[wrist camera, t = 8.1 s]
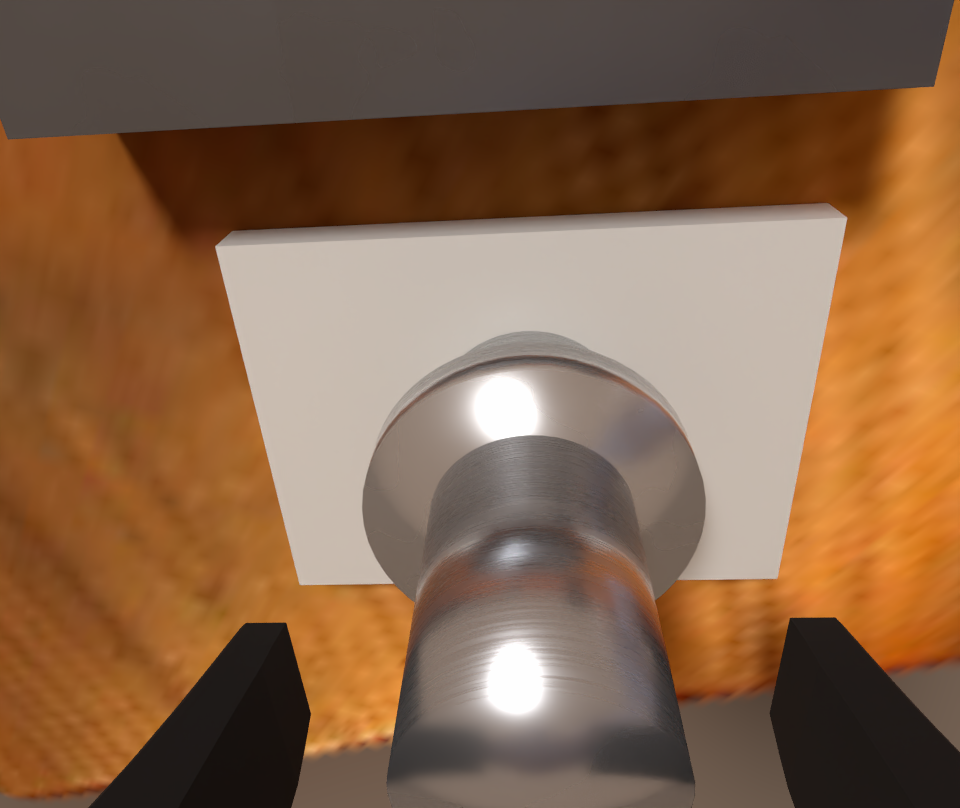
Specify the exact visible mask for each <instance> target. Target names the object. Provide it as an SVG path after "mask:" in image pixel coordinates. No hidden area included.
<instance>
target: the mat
mask: <svg viewBox="0 0 960 808" xmlns="http://www.w3.org/2000/svg"><path fill="white" fill-rule="evenodd" d="M846 222H847V217H846V216H844V215H843V214H842V213H840V212H839V211H838V210H836V209H835V208H834V207H833V206H831V205H830V204H829V203H814V204H793V205H772V206H751V207H729V208H708V209H687V210H666V211H644V212H623V213H602V214H581V215H559V216H538V217H517V218H496V219H475V220H453V221H432V222H411V223H390V224H368V225H347V226H326V227H305V228H283V229H262V230H241V231H232V232H231V233H229V234H228V235H227V236H226V237H225V238H224V239H223V240H222V241H221V242H220V243H219V244H217V245H216V246H215V248H216V252H217V256H218V260H219V264H220V268H221V272H222V276H223V280H224V284H225V288H226V292H227V296H228V300H229V304H230V308H231V312H232V316H233V320H234V324H235V328H236V332H237V336H238V340H239V344H240V348H241V352H242V356H243V360H244V364H245V368H246V372H247V376H248V380H249V384H250V388H251V392H252V396H253V400H254V404H255V408H256V412H257V416H258V420H259V424H260V428H261V432H262V436H263V440H264V444H265V448H266V452H267V456H268V460H269V464H270V468H271V472H272V476H273V480H274V484H275V488H276V492H277V496H278V500H279V504H280V508H281V512H282V516H283V520H284V524H285V528H286V532H287V536H288V540H289V544H290V548H291V552H292V556H293V560H294V564H295V568H296V572H297V576H298V580H299V584H300V585H339V584H394V583H393V582H392V581H391V579H390V578H389V577H388V576H387V575H386V573H385V572H384V570H383V569H382V567H381V566H380V564H379V563H378V561H377V559H376V558H375V556H374V553H373V551H372V549H371V547H370V544H369V542H368V539H367V535H366V532H365V528H364V523H363V513H362V498H363V488H364V484H365V479H366V475H367V471H368V468H369V464H370V461H371V458H372V454H373V451H374V448H375V444H376V441H377V438H378V436H379V433H380V431H381V428H382V426H383V424H384V422H385V420H386V419H387V417H388V415H389V414H390V412H391V410H392V409H393V407H394V406H395V405H396V404H397V402H398V401H399V400H400V399H401V398H402V396H403V395H404V394H405V393H406V392H407V391H408V390H409V389H410V388H411V387H412V386H414V385H415V384H416V383H417V382H418V381H419V380H420V379H422V378H423V377H424V376H426V375H427V374H429V373H430V372H432V371H433V370H435V369H436V368H438V367H440V366H442V365H444V364H445V363H447V362H449V361H451V360H453V359H455V358H457V357H460V356H463V355H465V354H466V353H467V352H468V351H469V350H471V349H472V348H474V347H475V346H477V345H478V344H480V343H482V342H484V341H486V340H488V339H491V338H494V337H497V336H499V335H503V334H508V333H512V332H521V331H541V332H548V333H553V334H557V335H561V336H564V337H567V338H569V339H572V340H574V341H576V342H578V343H580V344H582V345H583V346H585V347H587V348H588V349H589V350H591V351H593V352H596V353H598V354H601V355H603V356H606V357H608V358H611V359H613V360H616V361H618V362H619V363H621V364H623V365H625V366H626V367H628V368H630V369H632V370H634V371H635V372H636V373H638V374H639V375H640V376H642V377H643V378H644V379H646V380H647V381H648V382H650V383H651V384H652V385H653V386H654V387H655V388H656V389H657V390H658V391H659V392H660V393H661V394H662V395H663V396H664V397H665V398H666V399H667V401H668V402H669V404H670V405H671V406H672V408H673V409H674V410H675V412H676V413H677V415H678V417H679V419H680V421H681V422H682V424H683V426H684V428H685V430H686V433H687V436H688V438H689V441H690V444H691V447H692V449H693V452H694V455H695V458H696V460H697V463H698V466H699V469H700V472H701V475H702V478H703V483H704V490H705V496H706V511H705V521H704V526H703V531H702V535H701V538H700V541H699V543H698V546H697V549H696V551H695V553H694V555H693V557H692V559H691V560H690V562H689V564H688V566H687V567H686V569H685V570H684V571H683V573H682V574H681V575H680V576H679V578H678V579H677V580H721V579H777V578H778V573H779V567H780V562H781V557H782V552H783V547H784V542H785V537H786V531H787V526H788V521H789V516H790V511H791V506H792V500H793V495H794V490H795V485H796V480H797V475H798V469H799V464H800V459H801V454H802V449H803V444H804V439H805V433H806V428H807V423H808V418H809V413H810V408H811V402H812V397H813V392H814V387H815V382H816V377H817V371H818V366H819V361H820V356H821V351H822V346H823V340H824V335H825V330H826V325H827V320H828V315H829V310H830V304H831V299H832V294H833V289H834V284H835V279H836V273H837V268H838V263H839V258H840V253H841V248H842V242H843V237H844V232H845V227H846Z"/></svg>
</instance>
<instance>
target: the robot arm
mask: <svg viewBox="0 0 960 808" xmlns="http://www.w3.org/2000/svg"><path fill="white" fill-rule="evenodd" d="M310 716H311V712H310V709H309V705H308V701H307V698H306V694H305V690H304V687H303V683H302V679H301V676H300V672H299V668H298V665H297V661H296V657H295V654H294V650H293V646H292V643H291V639H290V635H289V632H288V628H287V624H286V623H245V624H244V625H243V626H242V627H241V628H240V629H239V631H238V632H237V633H236V634H235V636H234V637H233V638H232V639H231V641H230V642H229V643H228V644H227V646H226V647H225V648H224V649H223V651H222V652H221V653H220V654H219V656H218V657H217V658H216V659H215V661H214V662H213V663H212V664H211V666H210V667H209V668H208V669H207V671H206V672H205V673H204V674H203V676H202V677H201V678H200V679H199V681H198V682H197V683H196V684H195V686H194V687H193V688H192V689H191V690H190V692H189V693H188V694H187V695H186V697H185V698H184V699H183V700H182V702H181V703H180V704H179V705H178V706H177V708H176V709H175V710H174V711H173V712H172V714H171V715H170V716H169V717H168V718H167V719H166V721H165V722H164V723H163V724H162V725H161V727H160V728H159V729H158V730H157V731H156V732H155V734H154V735H153V736H152V737H151V738H150V739H149V741H148V742H147V743H146V744H145V745H144V747H143V748H142V749H141V750H140V751H139V752H138V754H137V755H136V756H135V757H134V758H133V759H132V760H131V762H130V763H129V764H128V765H127V766H126V767H125V768H124V770H123V771H122V772H121V773H120V774H119V775H118V776H117V777H116V778H115V779H114V780H113V781H112V783H111V784H110V785H109V786H108V787H107V788H106V789H105V790H104V791H103V792H102V793H101V795H100V796H99V797H98V798H97V799H96V800H95V801H94V802H93V803H92V804H91V805H90V807H89V808H291V806H292V803H293V799H294V796H295V792H296V788H297V786H298V781H299V776H300V771H301V765H302V760H303V755H304V750H305V744H306V739H307V733H308V727H309V722H310ZM770 717H771V721H772V725H773V729H774V733H775V738H776V742H777V746H778V750H779V755H780V759H781V762H782V766H783V770H784V774H785V778H786V782H787V785H788V789H789V792H790V795H791V797H792V801H793V803H794V806H795V808H960V752H959V751H958V750H957V749H956V748H955V747H954V746H953V745H952V744H951V743H950V742H949V740H948V739H947V738H946V737H945V736H944V735H943V734H942V733H941V732H940V731H939V730H938V729H937V728H936V727H935V726H934V725H933V724H932V723H931V722H930V721H929V720H928V719H927V717H926V716H924V714H923V713H922V712H921V711H920V710H919V709H918V708H917V707H916V706H915V705H914V704H913V703H912V701H911V700H910V699H909V698H908V697H907V696H906V695H905V694H904V693H903V692H902V691H901V689H900V688H899V687H898V686H897V685H896V684H895V683H894V682H893V681H892V679H891V678H890V677H889V676H888V675H887V674H886V673H885V672H884V671H883V670H882V668H881V667H880V666H879V665H878V664H877V663H876V662H875V661H874V659H873V658H872V657H871V656H870V655H869V654H868V653H867V652H866V651H865V649H864V648H863V647H862V646H861V645H860V644H859V643H858V642H857V640H856V639H855V638H854V637H853V636H852V635H851V634H850V633H849V631H848V630H847V629H846V628H845V627H844V626H843V625H842V624H841V623H840V622H839V621H838V620H837V619H836V618H790V621H789V625H788V630H787V635H786V639H785V644H784V649H783V654H782V658H781V663H780V668H779V672H778V677H777V682H776V686H775V691H774V696H773V700H772V705H771V710H770Z"/></svg>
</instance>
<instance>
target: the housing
mask: <svg viewBox="0 0 960 808" xmlns="http://www.w3.org/2000/svg"><path fill="white" fill-rule="evenodd" d="M953 3H954V0H0V119H1V122H2V124H3V127H4V130H5V133H6V135H7V138H8V139H23V138H40V137H58V136H75V135H93V134H110V133H128V132H145V131H163V130H180V129H198V128H215V127H233V126H250V125H268V124H285V123H303V122H320V121H338V120H355V119H373V118H391V117H408V116H426V115H443V114H461V113H478V112H496V111H513V110H531V109H548V108H566V107H583V106H601V105H618V104H636V103H653V102H671V101H688V100H706V99H723V98H741V97H758V96H776V95H793V94H811V93H828V92H846V91H863V90H881V89H898V88H916V87H933V86H934V84H935V80H936V76H937V71H938V67H939V63H940V58H941V54H942V50H943V46H944V41H945V37H946V33H947V28H948V24H949V20H950V15H951V11H952V7H953Z"/></svg>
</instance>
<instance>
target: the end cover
mask: <svg viewBox="0 0 960 808" xmlns="http://www.w3.org/2000/svg"><path fill="white" fill-rule="evenodd" d="M705 511H706V496H705V490H704V483H703V478H702V475H701V472H700V469H699V466H698V463H697V460H696V458H695V455H694V452H693V449H692V447H691V444H690V441H689V438H688V436H687V433H686V430H685V428H684V426H683V424H682V422H681V421H680V419H679V417H678V415H677V413H676V412H675V410H674V409H673V408H672V406H671V405H670V404H669V402H668V401H667V399H666V398H665V397H664V396H663V395H662V394H661V393H660V392H659V391H658V390H657V389H656V388H655V387H654V386H653V385H652V384H651V383H650V382H648V381H647V380H646V379H644V378H643V377H642V376H640V375H639V374H638V373H636V372H635V371H634V370H632V369H630V368H628V367H626V366H625V365H623V364H621V363H619V362H618V361H616V360H613V359H611V358H608V357H606V356H603V355H601V354H598V353H596V352H593V351H591V350H589V349H588V348H587V347H585V346H583V345H582V344H580V343H578V342H576V341H574V340H572V339H569V338H567V337H564V336H561V335H557V334H553V333H548V332H541V331H521V332H512V333H508V334H503V335H499V336H497V337H494V338H491V339H488V340H486V341H484V342H482V343H480V344H478V345H477V346H475V347H474V348H472V349H471V350H469V351H468V352H467V353H466V354H465V355H463V356H460V357H457V358H455V359H453V360H451V361H449V362H447V363H445V364H444V365H442V366H440V367H438V368H436V369H435V370H433V371H432V372H430V373H429V374H427V375H426V376H424V377H423V378H422V379H420V380H419V381H418V382H417V383H416V384H415V385H414V386H412V387H411V388H410V389H409V390H408V391H407V392H406V393H405V394H404V395H403V396H402V398H401V399H400V400H399V401H398V402H397V404H396V405H395V406H394V407H393V409H392V410H391V412H390V414H389V415H388V417H387V419H386V420H385V422H384V424H383V426H382V428H381V431H380V433H379V436H378V438H377V441H376V444H375V448H374V451H373V454H372V458H371V461H370V464H369V468H368V471H367V475H366V479H365V484H364V488H363V498H362V513H363V523H364V528H365V532H366V535H367V539H368V542H369V544H370V547H371V549H372V551H373V553H374V556H375V558H376V559H377V561H378V563H379V564H380V566H381V567H382V569H383V570H384V572H385V573H386V575H387V576H388V577H389V578H390V579H391V581H392V582H393V583H394V584H395V585H396V586H397V587H398V588H399V589H400V590H401V591H402V592H403V593H404V594H405V595H406V596H407V597H409V598H410V599H411V600H412V601H414V602H415V605H414V612H413V618H412V624H411V630H410V637H409V643H408V649H407V655H406V661H405V668H404V674H403V680H402V686H401V692H400V699H399V705H398V711H397V717H396V723H395V730H394V736H393V742H392V748H391V755H390V761H389V767H388V775H387V791H388V797H389V800H390V803H391V806H392V808H692V805H693V801H694V796H695V780H694V776H693V771H692V767H691V762H690V757H689V752H688V748H687V743H686V739H685V734H684V730H683V725H682V720H681V716H680V711H679V707H678V702H677V698H676V693H675V688H674V684H673V679H672V675H671V670H670V666H669V661H668V656H667V652H666V647H665V643H664V638H663V634H662V629H661V624H660V620H659V615H658V611H657V606H656V602H655V600H656V599H658V598H659V597H660V596H661V595H663V594H664V593H665V592H666V591H667V590H668V589H669V588H670V587H671V586H672V585H673V584H674V583H675V582H676V580H677V579H678V578H679V576H680V575H681V574H682V573H683V571H684V570H685V569H686V567H687V566H688V564H689V562H690V560H691V559H692V557H693V555H694V553H695V551H696V549H697V546H698V543H699V541H700V538H701V535H702V531H703V526H704V521H705Z"/></svg>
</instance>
